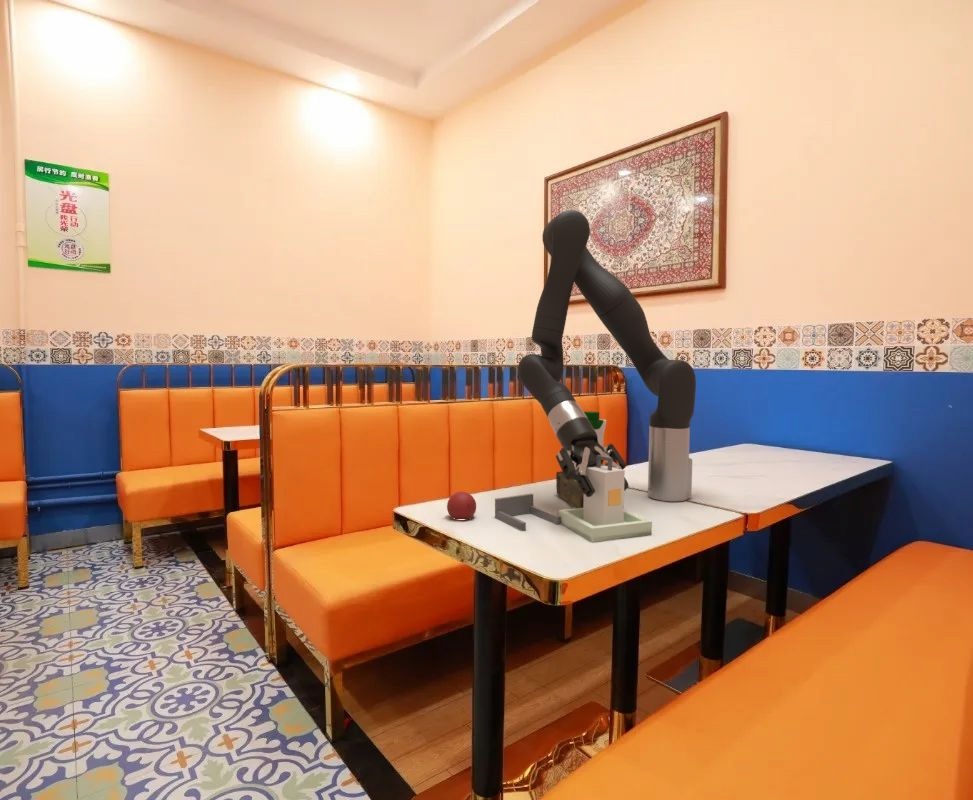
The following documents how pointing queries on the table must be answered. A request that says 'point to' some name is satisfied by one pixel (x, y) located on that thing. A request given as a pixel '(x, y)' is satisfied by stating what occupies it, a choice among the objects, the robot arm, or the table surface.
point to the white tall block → (604, 494)
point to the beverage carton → (569, 490)
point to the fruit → (461, 505)
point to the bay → (520, 510)
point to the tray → (605, 526)
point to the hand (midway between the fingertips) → (608, 492)
